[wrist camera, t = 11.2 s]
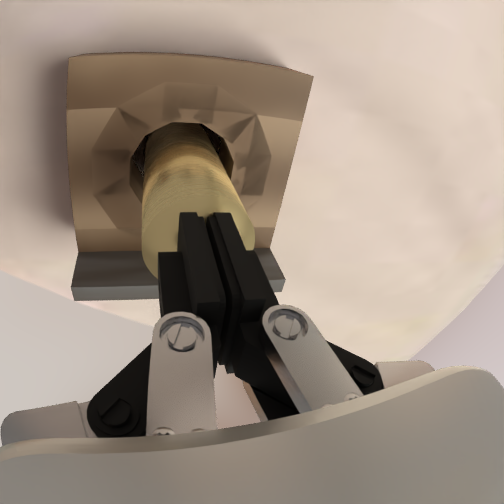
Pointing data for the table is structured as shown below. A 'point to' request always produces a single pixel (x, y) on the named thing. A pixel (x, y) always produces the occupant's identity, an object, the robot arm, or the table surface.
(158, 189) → the gold cylinder
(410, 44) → the table surface
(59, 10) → the table surface
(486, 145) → the table surface
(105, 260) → the jig
